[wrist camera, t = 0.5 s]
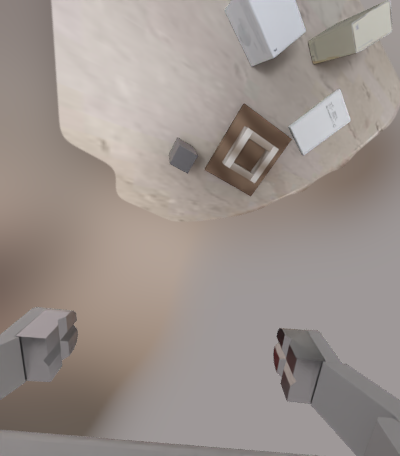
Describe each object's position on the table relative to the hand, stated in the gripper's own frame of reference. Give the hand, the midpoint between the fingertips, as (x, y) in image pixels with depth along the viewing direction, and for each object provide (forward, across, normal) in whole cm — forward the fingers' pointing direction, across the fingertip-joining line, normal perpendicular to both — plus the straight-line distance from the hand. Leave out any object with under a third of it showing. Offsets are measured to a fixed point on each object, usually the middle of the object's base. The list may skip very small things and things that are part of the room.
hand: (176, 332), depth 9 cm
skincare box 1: (+44, -7, -32) cm, 55 cm away
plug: (+47, +5, -10) cm, 48 cm away
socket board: (+49, -10, -10) cm, 51 cm away
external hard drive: (+51, -26, -18) cm, 60 cm away
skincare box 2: (+46, -22, -32) cm, 60 cm away
